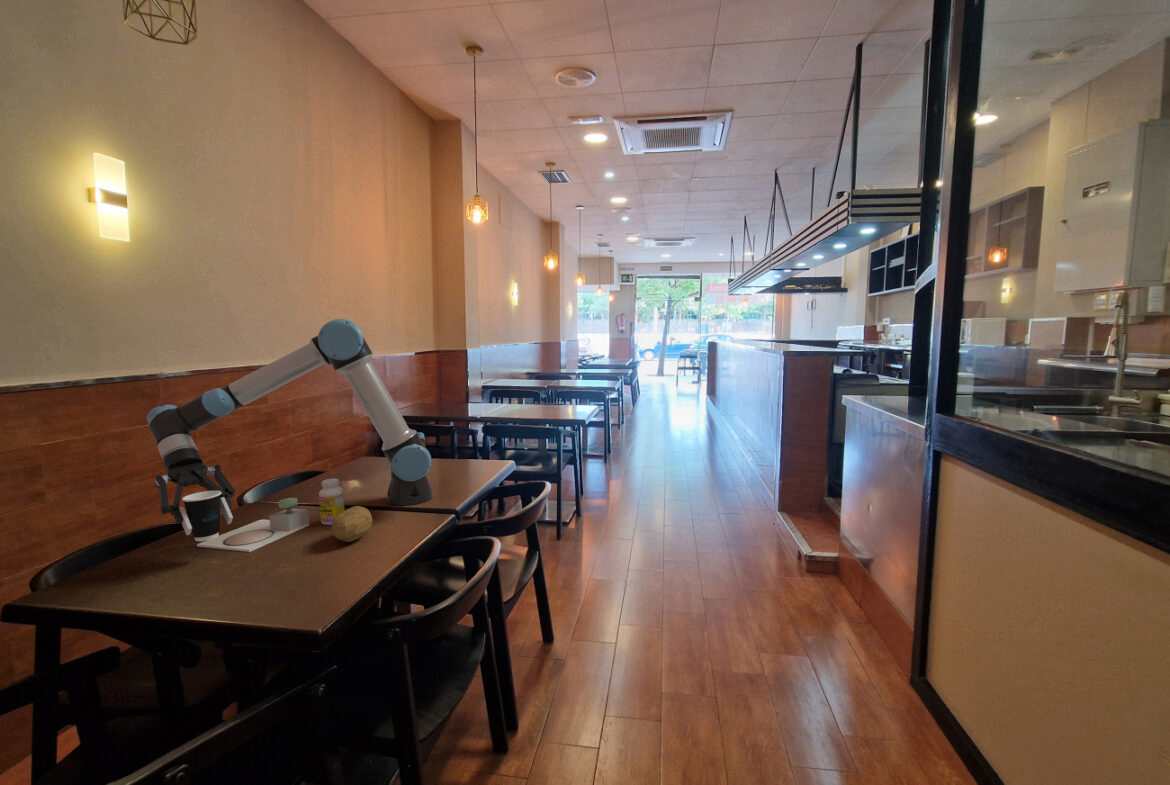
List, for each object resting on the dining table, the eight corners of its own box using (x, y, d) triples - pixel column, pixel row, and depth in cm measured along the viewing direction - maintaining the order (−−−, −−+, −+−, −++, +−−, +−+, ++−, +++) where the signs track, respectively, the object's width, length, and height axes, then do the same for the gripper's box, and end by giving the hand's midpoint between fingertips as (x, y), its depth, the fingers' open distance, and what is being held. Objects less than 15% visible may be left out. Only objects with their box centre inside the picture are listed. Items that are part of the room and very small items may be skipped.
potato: (322, 550, 132) (319, 520, 131) (345, 530, 146) (343, 503, 145) (359, 549, 132) (357, 519, 132) (379, 529, 146) (377, 502, 146)
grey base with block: (310, 524, 152) (309, 509, 152) (249, 551, 132) (248, 534, 132) (262, 520, 157) (261, 506, 156) (196, 546, 137) (195, 530, 137)
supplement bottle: (315, 524, 152) (312, 482, 151) (334, 517, 158) (331, 476, 157) (332, 526, 150) (329, 484, 148) (350, 519, 156) (347, 478, 155)
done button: (302, 518, 151) (301, 498, 151) (289, 523, 146) (287, 503, 146) (289, 517, 152) (288, 497, 152) (276, 522, 148) (274, 502, 147)
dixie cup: (198, 533, 131) (193, 491, 130) (232, 530, 132) (227, 489, 131) (179, 545, 123) (174, 501, 122) (215, 542, 124) (210, 498, 123)
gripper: (223, 456, 143) (253, 521, 135) (127, 473, 126) (155, 548, 119) (228, 439, 139) (260, 505, 132) (130, 454, 123) (159, 531, 115)
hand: (210, 525), depth 125 cm, fingers closed on dixie cup, 8 cm apart
